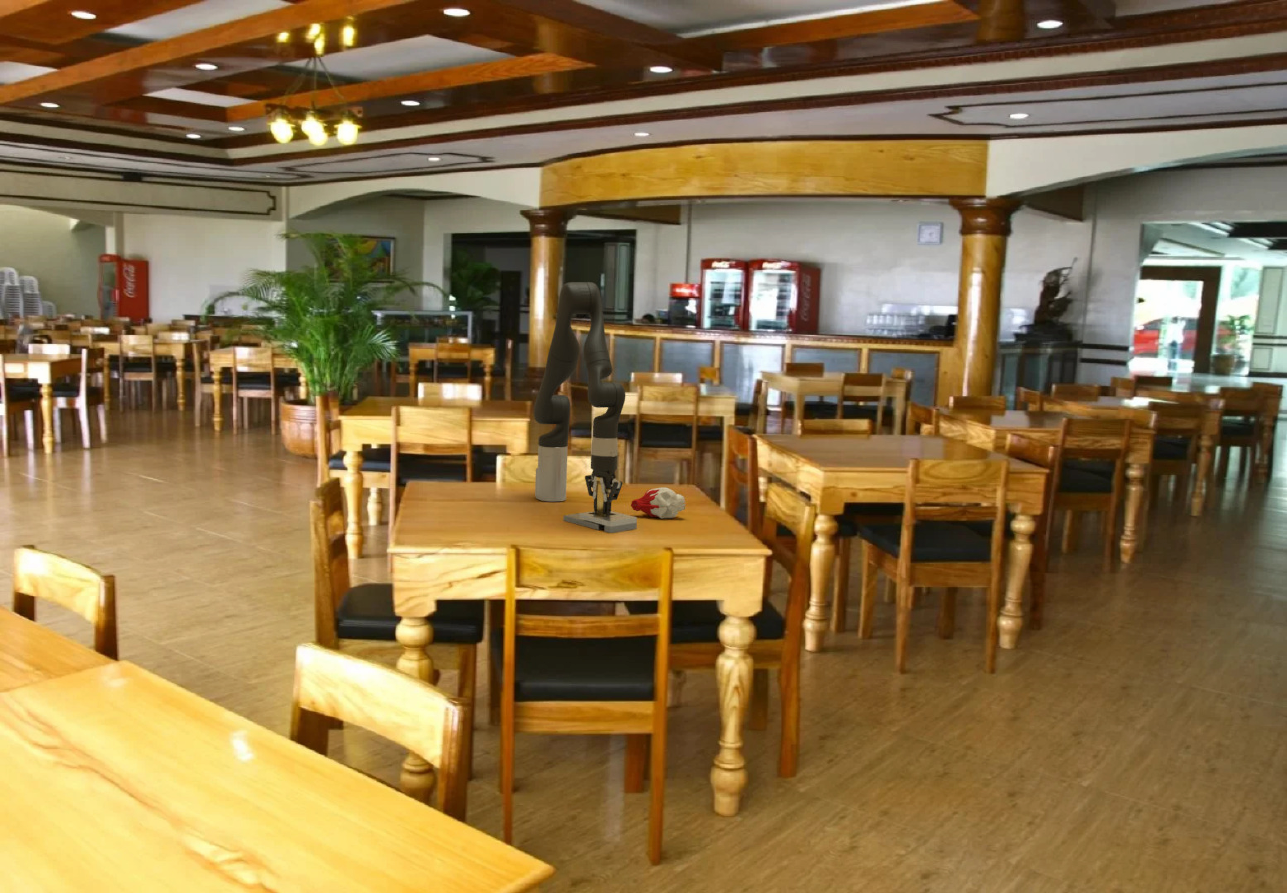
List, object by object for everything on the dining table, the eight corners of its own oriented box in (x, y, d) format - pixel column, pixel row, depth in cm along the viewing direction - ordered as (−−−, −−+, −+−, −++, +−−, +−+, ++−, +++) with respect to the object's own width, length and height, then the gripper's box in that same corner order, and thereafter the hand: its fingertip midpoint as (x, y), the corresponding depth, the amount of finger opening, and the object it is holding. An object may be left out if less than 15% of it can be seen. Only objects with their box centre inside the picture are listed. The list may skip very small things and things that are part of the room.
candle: (687, 518, 318) (638, 525, 315) (675, 510, 329) (628, 517, 325) (685, 488, 317) (636, 495, 313) (673, 481, 327) (626, 488, 324)
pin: (591, 521, 306) (593, 476, 304) (602, 519, 309) (603, 475, 307) (601, 524, 303) (603, 478, 301) (612, 522, 306) (613, 477, 304)
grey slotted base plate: (563, 520, 310) (563, 509, 310) (589, 516, 317) (589, 505, 317) (610, 533, 296) (610, 521, 296) (636, 528, 303) (636, 517, 303)
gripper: (577, 450, 306) (575, 510, 308) (611, 457, 296) (609, 518, 298) (597, 448, 311) (595, 507, 313) (631, 455, 301) (628, 515, 303)
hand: (602, 512), depth 306 cm, fingers closed on pin, 3 cm apart
